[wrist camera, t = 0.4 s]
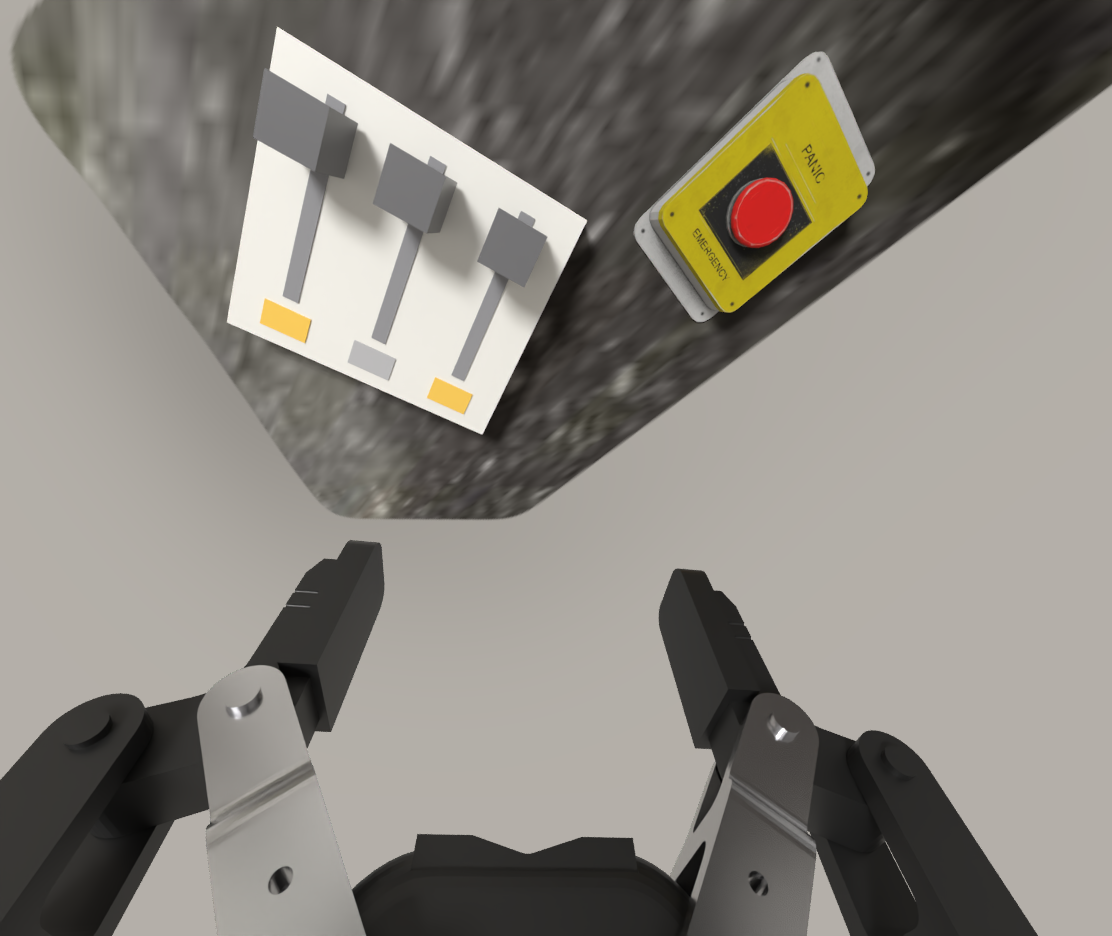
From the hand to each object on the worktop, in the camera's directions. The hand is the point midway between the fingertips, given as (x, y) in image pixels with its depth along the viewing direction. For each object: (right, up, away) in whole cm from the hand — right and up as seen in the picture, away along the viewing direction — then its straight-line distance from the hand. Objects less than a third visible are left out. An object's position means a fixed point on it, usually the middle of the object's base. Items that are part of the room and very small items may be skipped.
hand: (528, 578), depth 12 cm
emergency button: (+15, +22, +19) cm, 33 cm away
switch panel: (-10, +18, +20) cm, 28 cm away
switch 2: (-7, +20, +15) cm, 26 cm away
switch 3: (-2, +17, +16) cm, 24 cm away
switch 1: (-13, +22, +13) cm, 28 cm away
